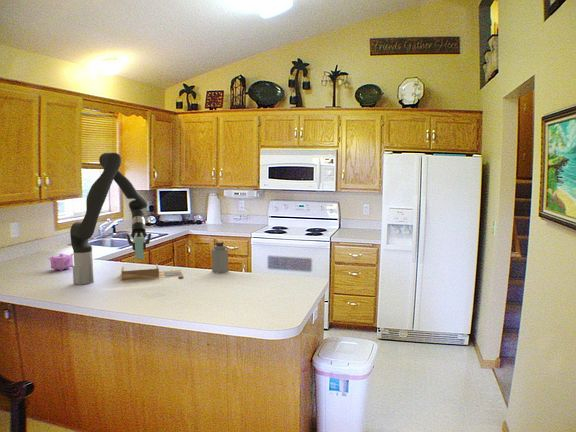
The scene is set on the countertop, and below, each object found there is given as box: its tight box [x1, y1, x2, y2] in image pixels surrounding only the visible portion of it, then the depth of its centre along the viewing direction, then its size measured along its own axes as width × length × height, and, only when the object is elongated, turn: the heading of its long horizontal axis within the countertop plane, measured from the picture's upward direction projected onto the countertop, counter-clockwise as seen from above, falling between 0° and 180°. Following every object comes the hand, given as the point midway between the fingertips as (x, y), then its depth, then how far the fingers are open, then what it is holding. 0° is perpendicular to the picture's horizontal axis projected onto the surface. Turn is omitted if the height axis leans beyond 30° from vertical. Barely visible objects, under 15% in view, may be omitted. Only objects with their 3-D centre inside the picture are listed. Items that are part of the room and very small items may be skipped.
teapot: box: [47, 252, 74, 272], centre depth 274 cm, size 18×13×10 cm
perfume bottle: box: [211, 241, 229, 274], centre depth 268 cm, size 7×7×18 cm
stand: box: [119, 263, 184, 282], centre depth 255 cm, size 16×34×6 cm, turn 109°
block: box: [134, 237, 145, 260], centre depth 251 cm, size 4×4×12 cm
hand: (139, 249), depth 249 cm, fingers closed on block, 4 cm apart
